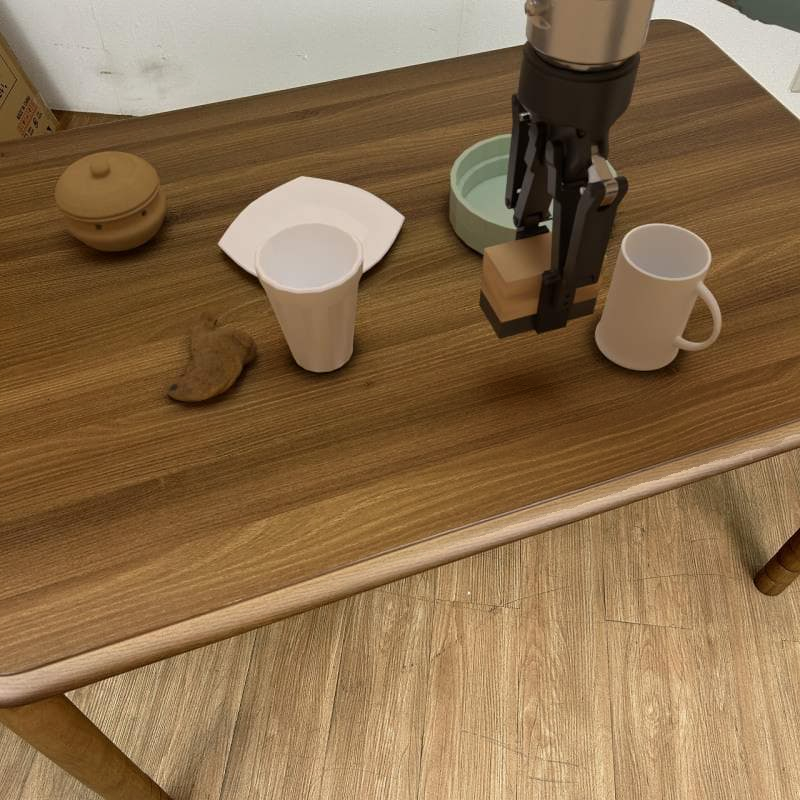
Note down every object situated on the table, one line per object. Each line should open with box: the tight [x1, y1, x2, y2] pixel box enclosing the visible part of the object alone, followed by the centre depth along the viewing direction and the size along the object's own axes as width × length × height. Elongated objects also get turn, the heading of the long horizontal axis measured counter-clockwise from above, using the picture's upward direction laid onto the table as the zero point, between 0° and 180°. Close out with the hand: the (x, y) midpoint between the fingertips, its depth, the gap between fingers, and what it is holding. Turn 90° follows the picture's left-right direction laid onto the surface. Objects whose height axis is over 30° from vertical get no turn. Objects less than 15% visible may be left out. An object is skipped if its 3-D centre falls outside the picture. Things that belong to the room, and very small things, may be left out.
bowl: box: [448, 132, 618, 256], centre depth 89 cm, size 19×19×6 cm
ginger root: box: [165, 310, 258, 403], centre depth 75 cm, size 10×10×4 cm
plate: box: [217, 175, 406, 278], centre depth 88 cm, size 19×19×2 cm
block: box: [478, 232, 608, 340], centre depth 63 cm, size 9×4×6 cm, turn 109°
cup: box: [254, 221, 364, 373], centre depth 72 cm, size 10×10×13 cm
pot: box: [54, 150, 167, 253], centre depth 86 cm, size 12×12×10 cm
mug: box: [594, 223, 723, 372], centre depth 72 cm, size 12×8×12 cm
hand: (536, 307), depth 66 cm, fingers closed on block, 4 cm apart
